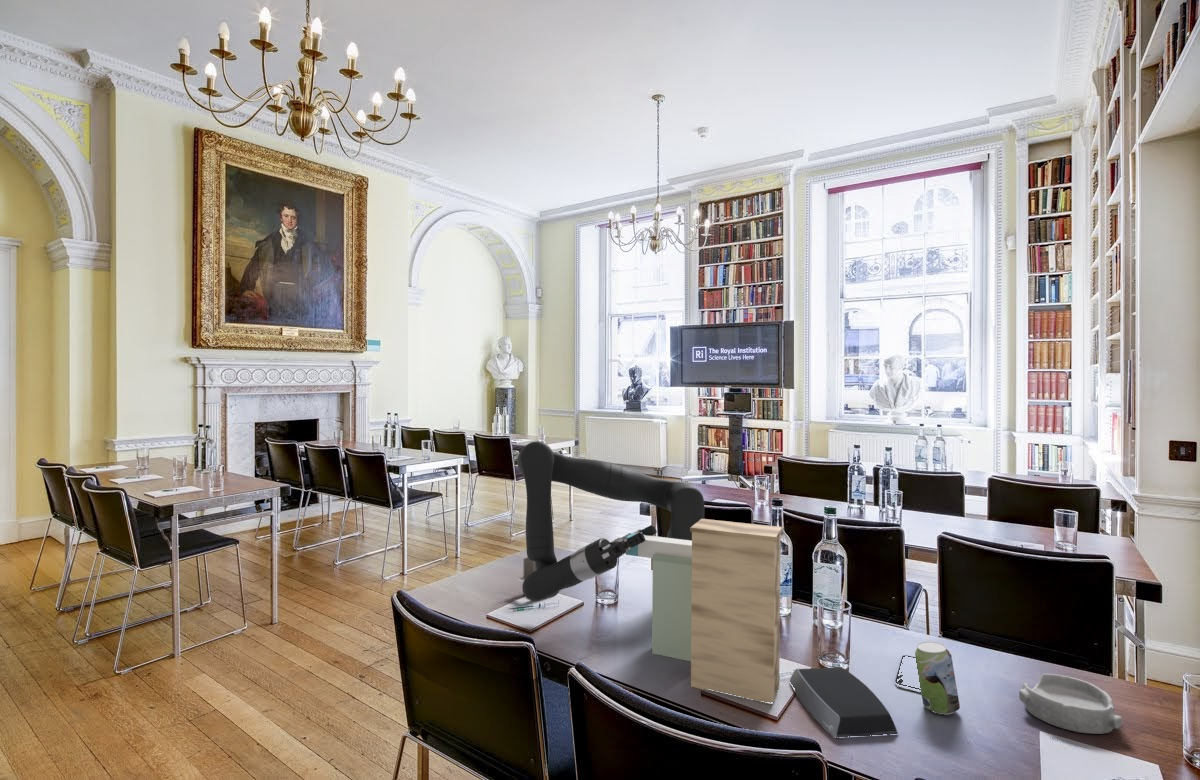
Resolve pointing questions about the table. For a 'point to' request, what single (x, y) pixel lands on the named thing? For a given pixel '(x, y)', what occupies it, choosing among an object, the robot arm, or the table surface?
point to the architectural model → (527, 569)
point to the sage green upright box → (672, 606)
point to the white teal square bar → (661, 547)
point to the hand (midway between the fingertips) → (649, 532)
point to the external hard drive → (841, 702)
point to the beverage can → (937, 678)
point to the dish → (1071, 704)
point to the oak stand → (736, 608)
